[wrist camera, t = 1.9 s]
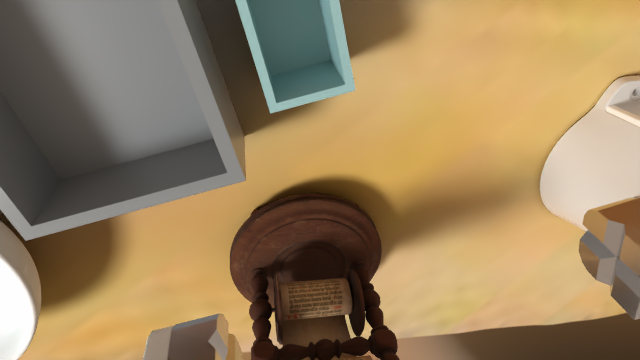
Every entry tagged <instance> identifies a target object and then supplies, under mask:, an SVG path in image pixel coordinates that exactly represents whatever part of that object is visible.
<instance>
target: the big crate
mask: <svg viewBox="0 0 640 360" xmlns="http://www.w3.org/2000/svg"><path fill="white" fill-rule="evenodd" d="M243 181H246V171H245V141H244V134H243V131H242V129H241V126H240V123H239V120H238V117H237V115H236V112H235V109H234V106H233V103H232V101H231V98H230V95H229V92H228V89H227V87H226V84H225V81H224V78H223V75H222V73H221V70H220V67H219V64H218V61H217V59H216V56H215V53H214V50H213V47H212V45H211V42H210V39H209V36H208V33H207V31H206V28H205V25H204V22H203V19H202V17H201V14H200V11H199V8H198V5H197V3H196V0H0V210H1V211H2V212H3V213H4V215H5V216H6V217H7V218H8V220H9V221H10V222H11V223H12V225H13V226H14V227H15V228H16V230H17V231H18V232H19V233H20V235H21V236H22V237H23V238H24V240H25V241H27V240H31V239H34V238H38V237H42V236H45V235H49V234H53V233H56V232H60V231H63V230H67V229H71V228H74V227H78V226H82V225H85V224H89V223H93V222H96V221H100V220H104V219H107V218H111V217H115V216H118V215H122V214H126V213H129V212H133V211H137V210H140V209H144V208H148V207H151V206H155V205H159V204H162V203H166V202H169V201H173V200H177V199H180V198H184V197H188V196H191V195H195V194H199V193H202V192H206V191H210V190H213V189H217V188H221V187H224V186H228V185H232V184H235V183H239V182H243Z"/></svg>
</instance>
